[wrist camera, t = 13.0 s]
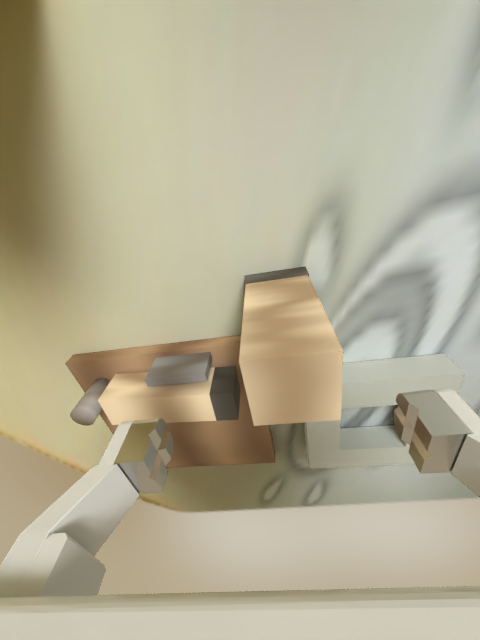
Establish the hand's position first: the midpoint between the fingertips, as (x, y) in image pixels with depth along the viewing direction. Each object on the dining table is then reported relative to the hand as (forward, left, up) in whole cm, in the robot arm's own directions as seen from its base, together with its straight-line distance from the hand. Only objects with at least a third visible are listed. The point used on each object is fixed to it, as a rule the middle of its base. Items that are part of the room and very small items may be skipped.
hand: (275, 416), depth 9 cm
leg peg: (-1, 0, -9) cm, 9 cm away
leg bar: (+7, +5, -8) cm, 12 cm away
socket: (-7, +11, -9) cm, 15 cm away
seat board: (+8, +9, -9) cm, 15 cm away
